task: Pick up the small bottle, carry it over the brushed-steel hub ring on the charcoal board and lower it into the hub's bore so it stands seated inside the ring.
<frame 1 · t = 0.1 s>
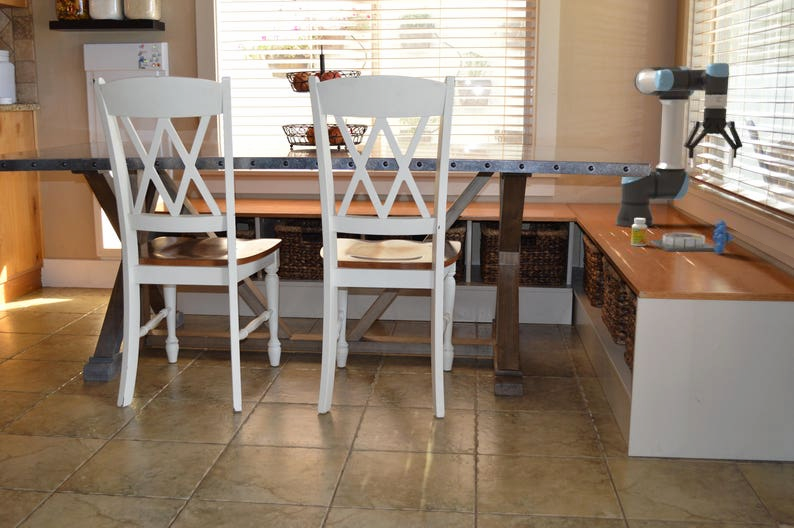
hand: (711, 167, 323), 28 cm above the table, fingers open, 13 cm apart
hub plate: (683, 246, 323), on the table
grapes: (721, 255, 308), on the table
supplement bottle: (638, 245, 327), on the table
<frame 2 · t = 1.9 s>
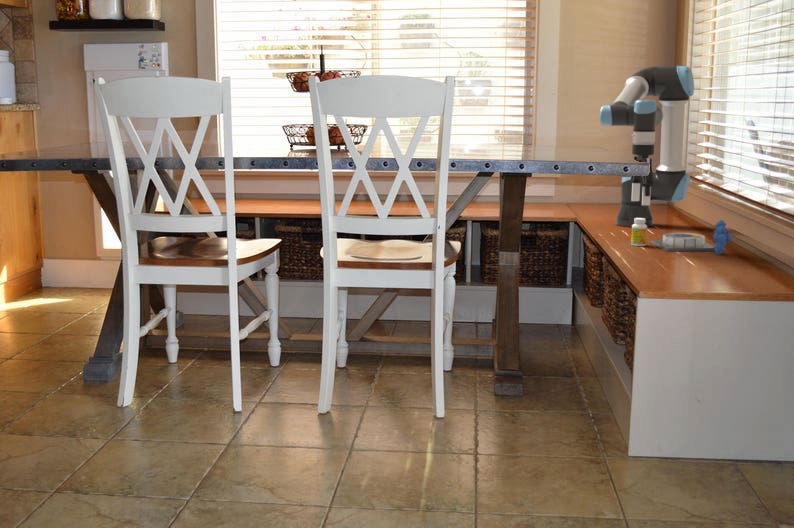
hand: (640, 203, 324), 15 cm above the table, fingers open, 13 cm apart
nothing on the table moved.
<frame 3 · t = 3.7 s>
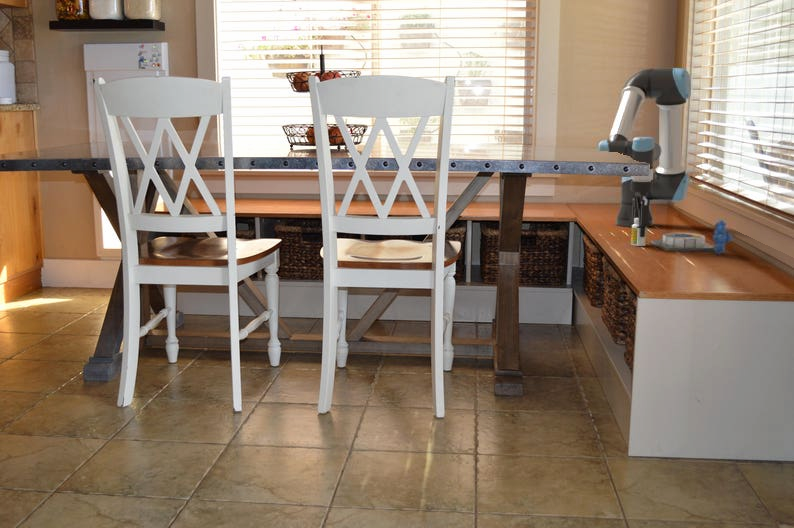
hand: (638, 244, 327), 0 cm above the table, fingers closed on supplement bottle, 5 cm apart
supplement bottle: (638, 245, 327), on the table, touching gripper
everything else where it was.
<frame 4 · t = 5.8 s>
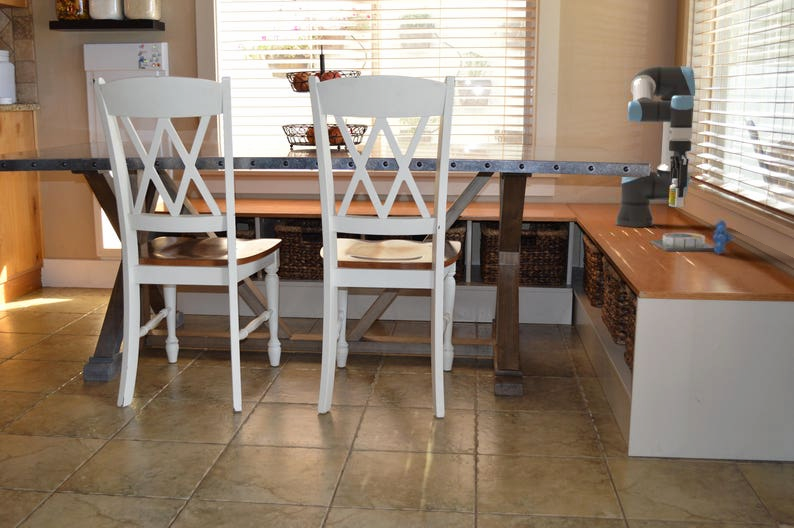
hand: (676, 205, 321), 15 cm above the table, fingers closed on supplement bottle, 5 cm apart
supplement bottle: (676, 206, 321), point 14 cm above the table, touching gripper
everything else where it was.
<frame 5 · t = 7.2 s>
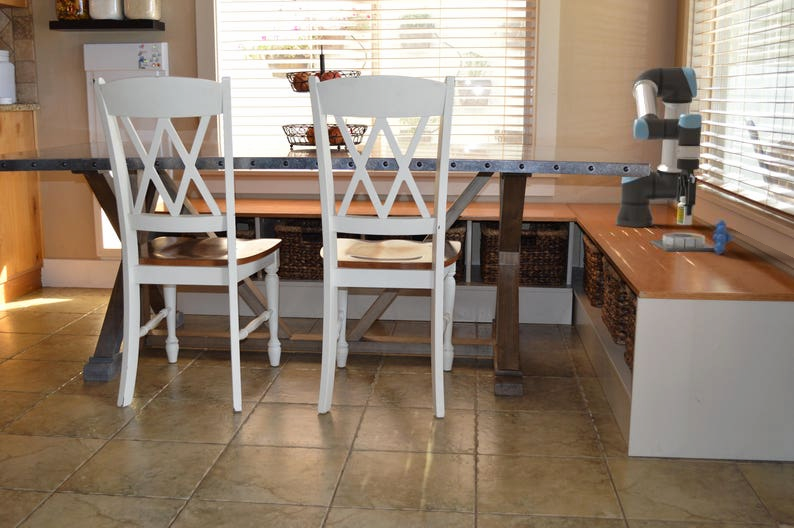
hand: (684, 223, 321), 9 cm above the table, fingers closed on supplement bottle, 5 cm apart
supplement bottle: (684, 224, 322), point 8 cm above the table, touching gripper
everything else where it was.
when the fingers open (6 cm above the table, at t = 8.0 s): supplement bottle drops 4 cm, resting on hub plate.
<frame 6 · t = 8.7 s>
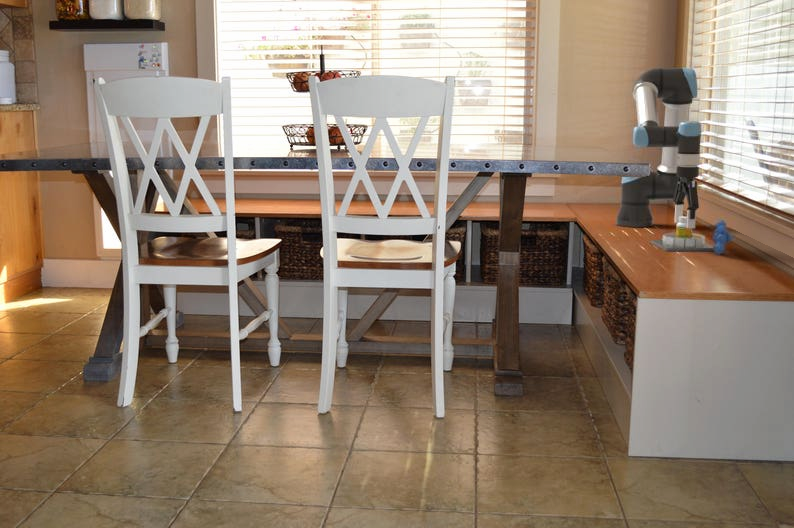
hand: (684, 225, 322), 8 cm above the table, fingers open, 13 cm apart
supplement bottle: (683, 244, 323), point 1 cm above the table, touching hub plate
everything else where it was.
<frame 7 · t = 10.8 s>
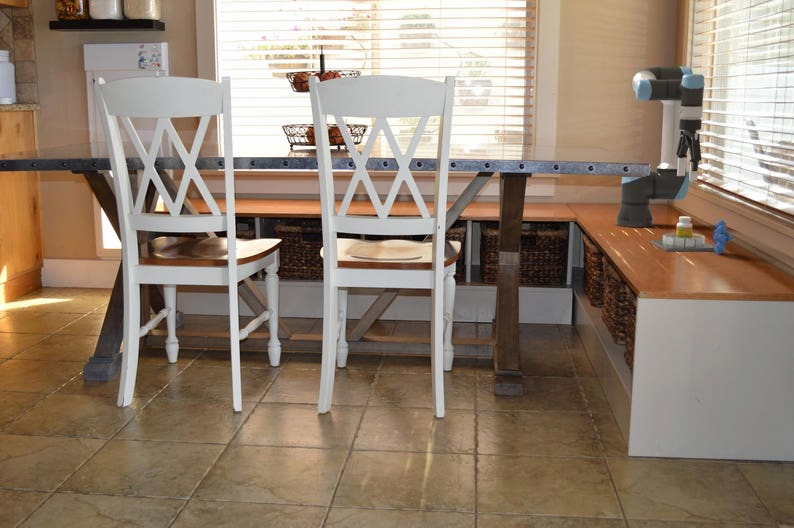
hand: (687, 178, 324), 24 cm above the table, fingers open, 13 cm apart
nothing on the table moved.
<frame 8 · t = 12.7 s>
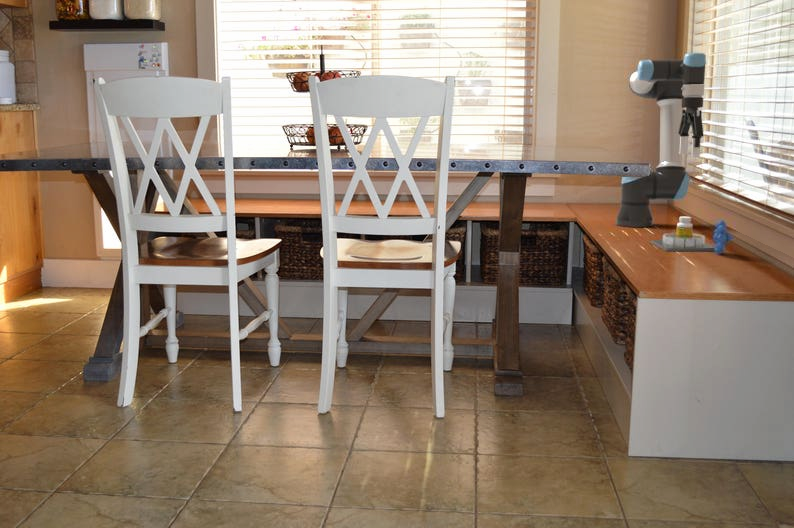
hand: (689, 155, 331), 32 cm above the table, fingers open, 13 cm apart
nothing on the table moved.
at the end: supplement bottle 0.3 cm off-centre on the hub plate, point 0.8 cm above the hub plate's base; supplement bottle tilted 0°; the gripper is holding nothing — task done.
